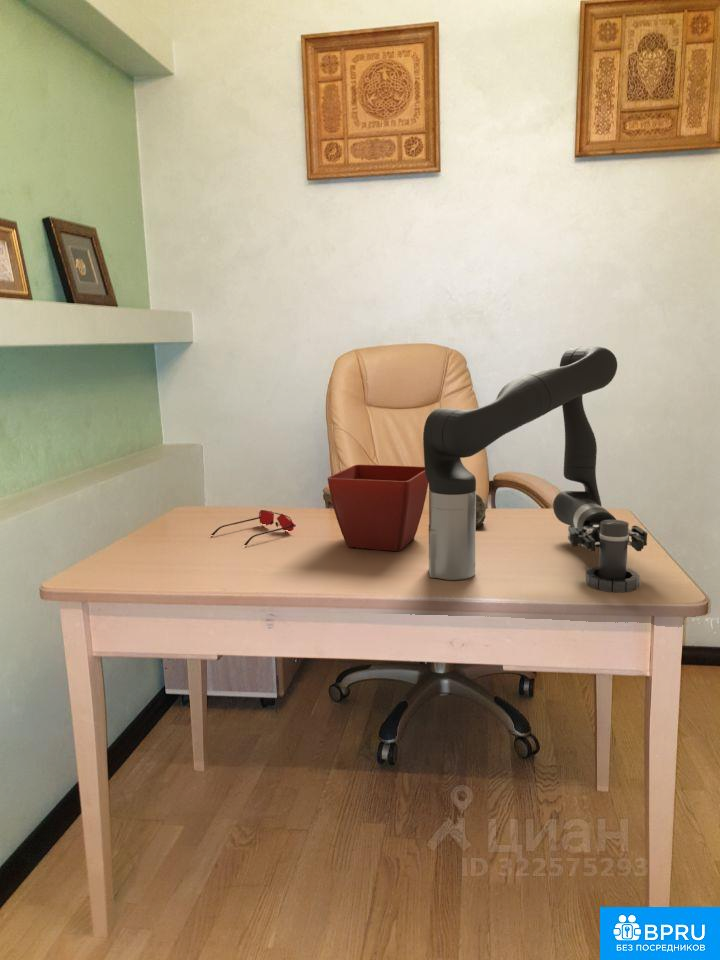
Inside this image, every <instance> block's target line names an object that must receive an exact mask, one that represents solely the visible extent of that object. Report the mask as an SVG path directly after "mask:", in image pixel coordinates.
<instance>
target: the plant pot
mask: <svg viewBox="0 0 720 960" xmlns="http://www.w3.org/2000/svg"><path fill="white" fill-rule="evenodd" d="M327 483H328V489H329V494H330V499H331V502H332V507H333V510H334V514H335V518H336V520H337V523H338V526H339V528H340V531H341V532H340V533H341V534H342V537H343V539H344V542H345V544H346V546H347V547H348V548H353V547H355V549H356V548H358V549H365V548H366V549H368V550H369V549H370V550H381V551H390V552H391V551H394V552H398V551H401V550H402V549H403V548H404V547H406V546H407V545H408V544H409V543H410V542H411V541H412V540H414V539H415V537H416V534H417V532H418V528H419V525H420V521H421V518H422V514H423V512H424V511H423V510H424V506H425V502H426V499H427V493H428V489H429V482H428V479H427V477H426V474H425V466H417V465H416V466H414V465H413V466H412V465H411V466H410V465H390V464H389V465H381V464H355V465H352V466H349V467H347V468H344V469H343V470H341V471H339V472H337V473H334V474H332V475H330V476H327ZM366 549H365V550H366Z"/></svg>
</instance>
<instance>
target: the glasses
mask: <svg viewBox="0 0 720 960" xmlns="http://www.w3.org/2000/svg"><path fill="white" fill-rule="evenodd" d="M275 515H279V516H277V517H276V520H277V521H276V522H275V523H274V521H275V518H274V517H275ZM254 520H259V524H261V523H262V524H266V526H268V525H270V526H271V525H274V524H275V526H276V527H277V528H276V529H272V530H269V531H268V530H267V531H264V532H262V533H261V532H260V533H257V534H254V535H252V536H250V537H249V538H248V539H247V540H246V542H245V543H244V544H243V545H246V546H247V545H248V544H249V543H250V541H251V540H252V539H253V538H255V537H258V536H262V535H265V534H270V533H274V532H278V531H281V530H283V531H284V530H288V531H291V532H292V531H294V528H295V527H297V525H296V524H295V523H294V522H293V519H292V518H291V517H290V516H288V515H285V514H283V513H278V512H273V511H272V510H270V511H269V510H265V509H260V511H259V513H258V517H254V518H248V519H244V520H241V521H237V522H233V523H228V524H224V525H221V526H219V527H218V528H217V529H215V530H214V531H213V532H212V533H211V534H210V535H213V536H214V535H215V534H217V533H218V531H219V530H221V529H222V528H225V527H228V526H233V525H237V524H242V523H247V522H251V521H254ZM279 526H280V527H281V528H278V527H279Z"/></svg>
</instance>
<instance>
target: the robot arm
mask: <svg viewBox="0 0 720 960" xmlns="http://www.w3.org/2000/svg"><path fill="white" fill-rule="evenodd" d="M617 370H618V360H617V357H616V355H615V354H614V353H613V351H611V350H610V349H608V348H605V347H601V346H579V347H578V346H577V347H571V348H569V349H566V351H564V353H563V354H562V356H561V359H560V362H559V366H558V367H552V368H547V369H542V370H536V371H533V372H530V373H527V374H525V375H521V376H520V377H518V378H516V379H514V380H512V381H510V382H508V383H507V384H505V385H504V386H503V387H502V388H501V390H500V391H499V393H498V394H497V396H496V399H495V400H493V401H491V402H490V403H488V404H485V405H483V406H480V407H476V408H474V409H461V408H460V409H458V408H448V407H441V408H437V409H433V411H431V412H430V414H428V416H427V417H426V420H425V422H424V426H423V432H422V433H423V434H422V437H423V438H422V440H423V441H422V442H423V443H422V444H423V445H422V447H423V463H424V465H423V466H424V467H425V474H426V477H427V479H428V503H429V504H428V511H429V512H428V517H429V518H428V522H429V523H428V571H429V573H428V574H429V578H435V579H436V578H437V579H440V580H441V579H442V580H447V581H448V580H449V581H459V580H466V579H470V578H473V577H474V576H475V575H476V533H477V531H476V494H477V479H476V476H475V475H474V473H472V472H470V471H469V470H468V469H467V468H466V467H465V466H464V463H463V462H462V459H463V458H469V457H473V456H474V455H476V454H478V453H480V452H482V451H483V450H484V449H486V448H487V447H488V446H490V445H491V444H493V443H494V442H495V441H497V440H498V439H500V438H501V437H503V436H505V435H506V434H509V433H510V432H512V431H515V430H516V429H519V428H521V427H522V426H524V425H526V424H529V423H531V422H533V421H535V420H537V419H539V418H540V417H542V416H544V415H546V414H548V413H550V412H552V411H553V410H556V409H557V408H559V407H561V406H562V413H563V416H562V417H563V423H564V425H563V426H564V453H563V454H564V456H563V477H564V478H565V479H566V480H568V481H572V482H575V483H580V484H582V485H583V487H584V491H583V490H581V491H579V490H564V491H561V492H559V493H558V494H557V495H556V496H555V497H554V500H553V502H552V507H553V508H552V509H553V513H554V515H555V517H556V518H557V520H558V521H559V522H561V523H563V524H565V525H567V526H568V527H567V529H568V531H567V539H568V541H569V544H571V546H573V547H578V546H579V545H581V547H584V548H585V549H587V550H589V551H590V552H595V550H596V548H600V537H599V535H600V524H601V521H603V520H617V519H616V517H615V515H613V514H612V513H611V512H610V511H608V509H606V508H605V507H603V506H602V500H601V496H600V493H599V489H598V483H597V475H596V474H597V473H596V472H597V471H596V470H597V468H596V467H597V456H598V455H597V453H598V449H597V439H596V436H595V433H594V431H593V428H592V426H591V423H590V421H589V419H588V416H587V413H586V411H585V408H584V404H583V403H584V401H583V395H585V394H588V393H592V392H595V391H597V390H601V389H603V388H605V387H606V386H608V385H609V384H611V382H612V381H613V380H614V378H615V376H616V374H617ZM628 534H629V537H628V546H631V548H633V549H634V550H635V551H636V552H642V550H643V549H644V548H645V547H644V546H647V545H648V543H647V542H648V532H647V531H646V530H644V529H642V528H641V527H640V526H638V525H632V526H631V529H629V528H628ZM630 539H631V540H630Z"/></svg>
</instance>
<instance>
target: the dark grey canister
mask: <svg viewBox="0 0 720 960" xmlns="http://www.w3.org/2000/svg"><path fill="white" fill-rule="evenodd" d="M629 524H630V523H629V522H627V521H624V520H621V519H616V520H603V521H601V524H600V535H599V537H600V548H599V547H598V548H599V553H598V554H599V555H598V556H599V557H598V566H599V573H598V577H601V578H605V579H611V580H624V579H626V568H627V566H628V565H627V564H628V563H627V562H628V546H629V545H628V537H629V538H630V536H629V534H628V529H629Z"/></svg>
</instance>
